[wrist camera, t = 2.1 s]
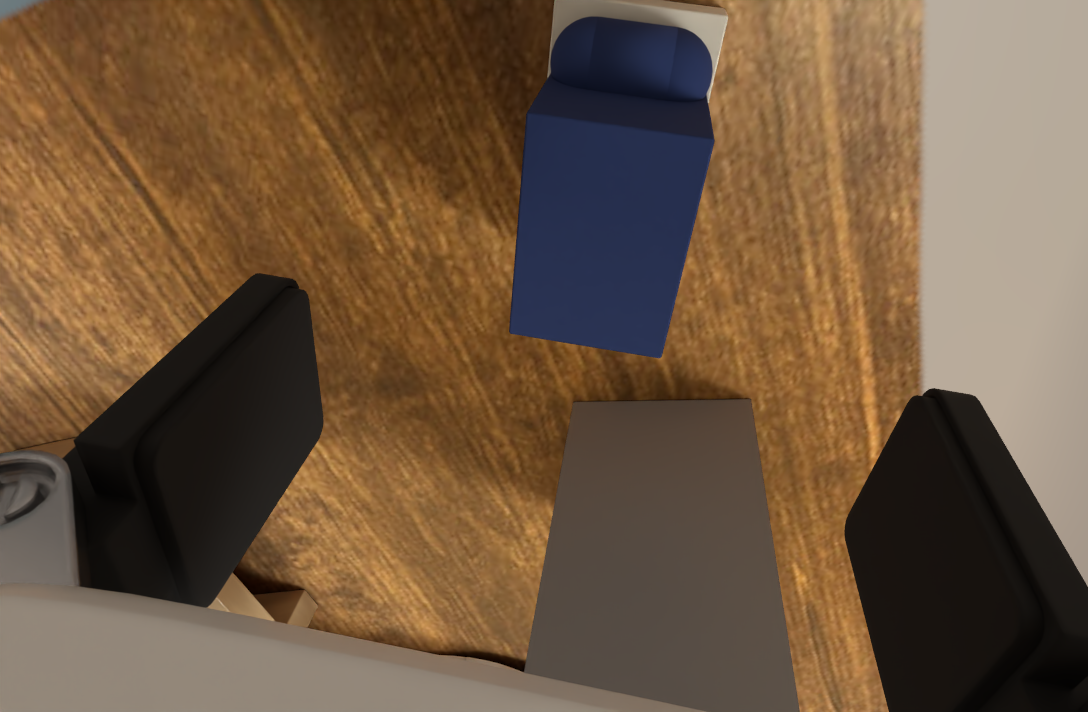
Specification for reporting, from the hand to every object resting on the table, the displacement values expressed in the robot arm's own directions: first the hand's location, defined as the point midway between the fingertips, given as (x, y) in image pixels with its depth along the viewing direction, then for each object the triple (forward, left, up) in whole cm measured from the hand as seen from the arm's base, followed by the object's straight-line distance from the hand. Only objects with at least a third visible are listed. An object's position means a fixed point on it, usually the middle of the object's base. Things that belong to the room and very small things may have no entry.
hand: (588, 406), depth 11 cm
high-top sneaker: (0, 0, -13) cm, 13 cm away
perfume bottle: (+9, -10, -13) cm, 18 cm away
